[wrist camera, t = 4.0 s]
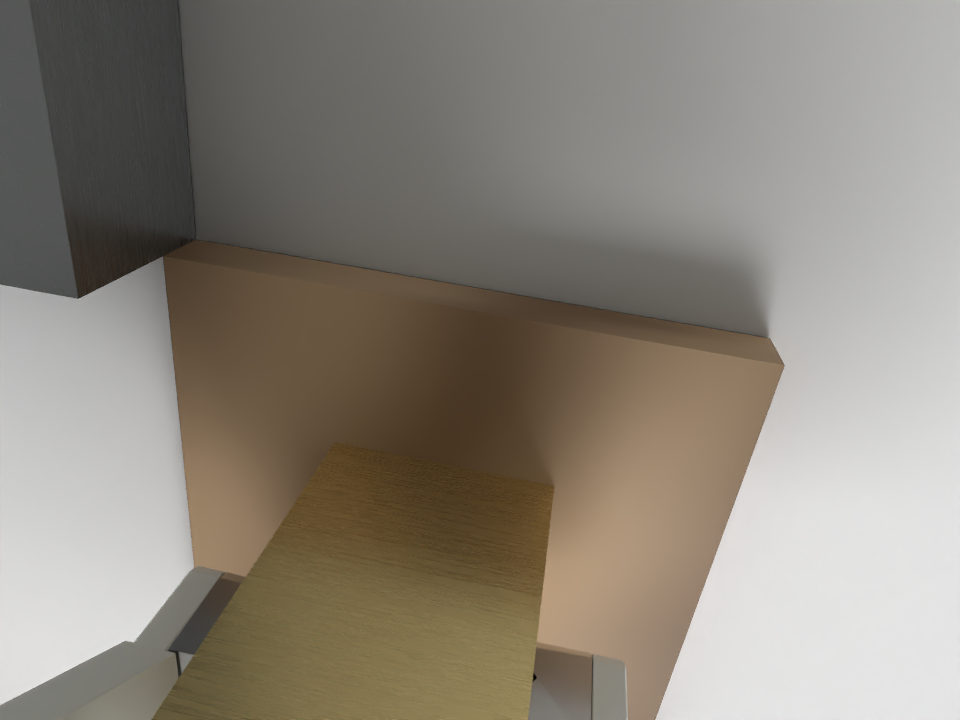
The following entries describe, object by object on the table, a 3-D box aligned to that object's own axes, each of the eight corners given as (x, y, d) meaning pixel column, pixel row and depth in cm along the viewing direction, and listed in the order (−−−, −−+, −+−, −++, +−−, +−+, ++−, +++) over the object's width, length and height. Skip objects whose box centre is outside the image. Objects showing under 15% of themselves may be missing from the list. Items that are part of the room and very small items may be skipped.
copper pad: (770, 338, 11) (784, 365, 10) (634, 728, 15) (636, 770, 15) (195, 239, 12) (163, 256, 11) (226, 633, 16) (204, 667, 16)
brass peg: (554, 486, 12) (511, 860, 6) (521, 644, 14) (466, 1041, 8) (334, 442, 12) (122, 762, 7) (330, 602, 14) (161, 954, 9)
